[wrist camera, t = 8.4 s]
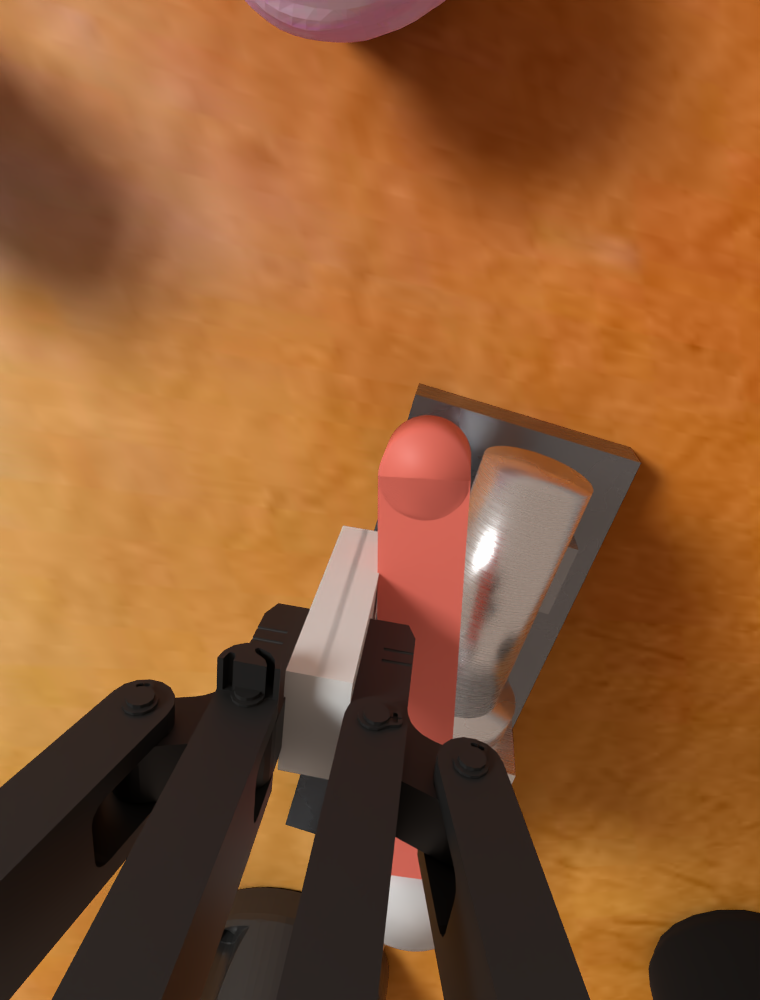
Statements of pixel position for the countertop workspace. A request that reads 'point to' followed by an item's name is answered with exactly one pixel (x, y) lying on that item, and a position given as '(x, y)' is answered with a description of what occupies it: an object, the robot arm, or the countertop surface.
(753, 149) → the countertop surface
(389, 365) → the countertop surface
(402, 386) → the countertop surface
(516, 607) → the valve stand
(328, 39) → the cupcake
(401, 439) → the valve lever
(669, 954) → the coffee jar
